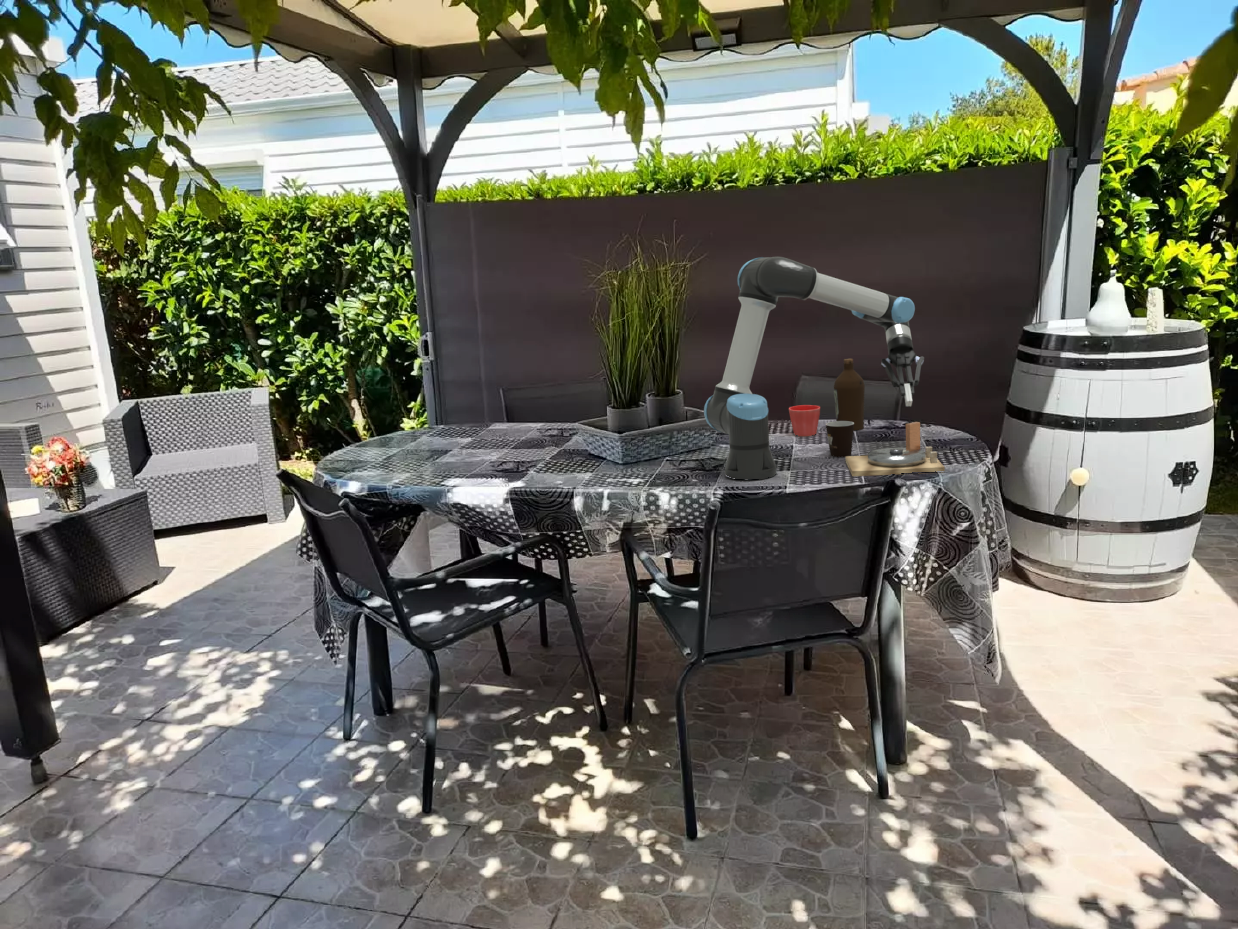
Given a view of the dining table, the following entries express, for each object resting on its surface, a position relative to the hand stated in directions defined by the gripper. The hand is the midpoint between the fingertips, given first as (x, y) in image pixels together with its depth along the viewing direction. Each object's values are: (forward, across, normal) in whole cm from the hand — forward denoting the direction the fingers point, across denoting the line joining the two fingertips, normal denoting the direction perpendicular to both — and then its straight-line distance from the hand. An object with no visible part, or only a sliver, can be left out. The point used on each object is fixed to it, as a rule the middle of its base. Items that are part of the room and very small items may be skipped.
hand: (909, 403), depth 263 cm
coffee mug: (+7, +20, -16) cm, 27 cm away
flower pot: (-17, +29, -40) cm, 52 cm away
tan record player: (+21, +7, -2) cm, 22 cm away
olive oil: (-21, +13, -44) cm, 51 cm away
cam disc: (+19, +6, -1) cm, 20 cm away
